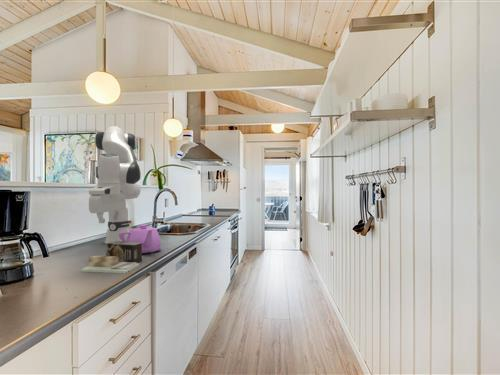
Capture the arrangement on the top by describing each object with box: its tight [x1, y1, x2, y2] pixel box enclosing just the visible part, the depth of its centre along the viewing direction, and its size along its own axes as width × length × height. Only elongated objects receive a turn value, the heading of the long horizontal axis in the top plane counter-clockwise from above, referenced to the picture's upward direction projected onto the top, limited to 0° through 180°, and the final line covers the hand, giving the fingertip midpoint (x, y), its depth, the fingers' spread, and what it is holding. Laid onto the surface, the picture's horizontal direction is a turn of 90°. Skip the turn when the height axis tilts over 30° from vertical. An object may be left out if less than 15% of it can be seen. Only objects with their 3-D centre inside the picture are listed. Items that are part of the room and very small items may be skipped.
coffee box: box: [105, 241, 143, 263], centre depth 125 cm, size 9×6×16 cm
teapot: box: [119, 223, 162, 254], centre depth 141 cm, size 23×21×15 cm
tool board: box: [80, 262, 140, 274], centre depth 114 cm, size 11×20×1 cm, turn 84°
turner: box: [88, 255, 137, 270], centre depth 114 cm, size 19×8×4 cm, turn 84°
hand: (109, 221), depth 114 cm, fingers open, 8 cm apart
